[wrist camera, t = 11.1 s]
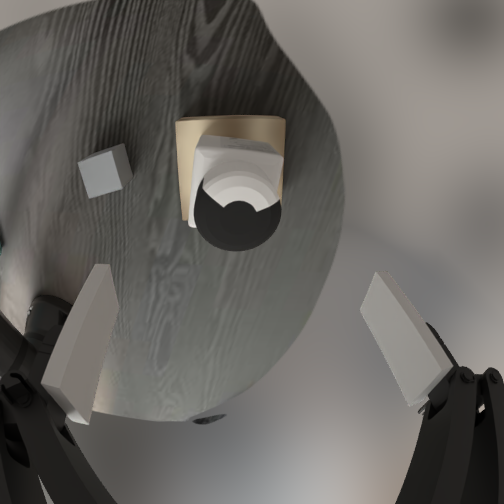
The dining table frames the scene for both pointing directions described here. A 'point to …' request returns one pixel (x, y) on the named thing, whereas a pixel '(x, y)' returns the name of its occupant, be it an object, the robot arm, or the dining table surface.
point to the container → (235, 192)
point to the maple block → (226, 126)
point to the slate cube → (106, 171)
